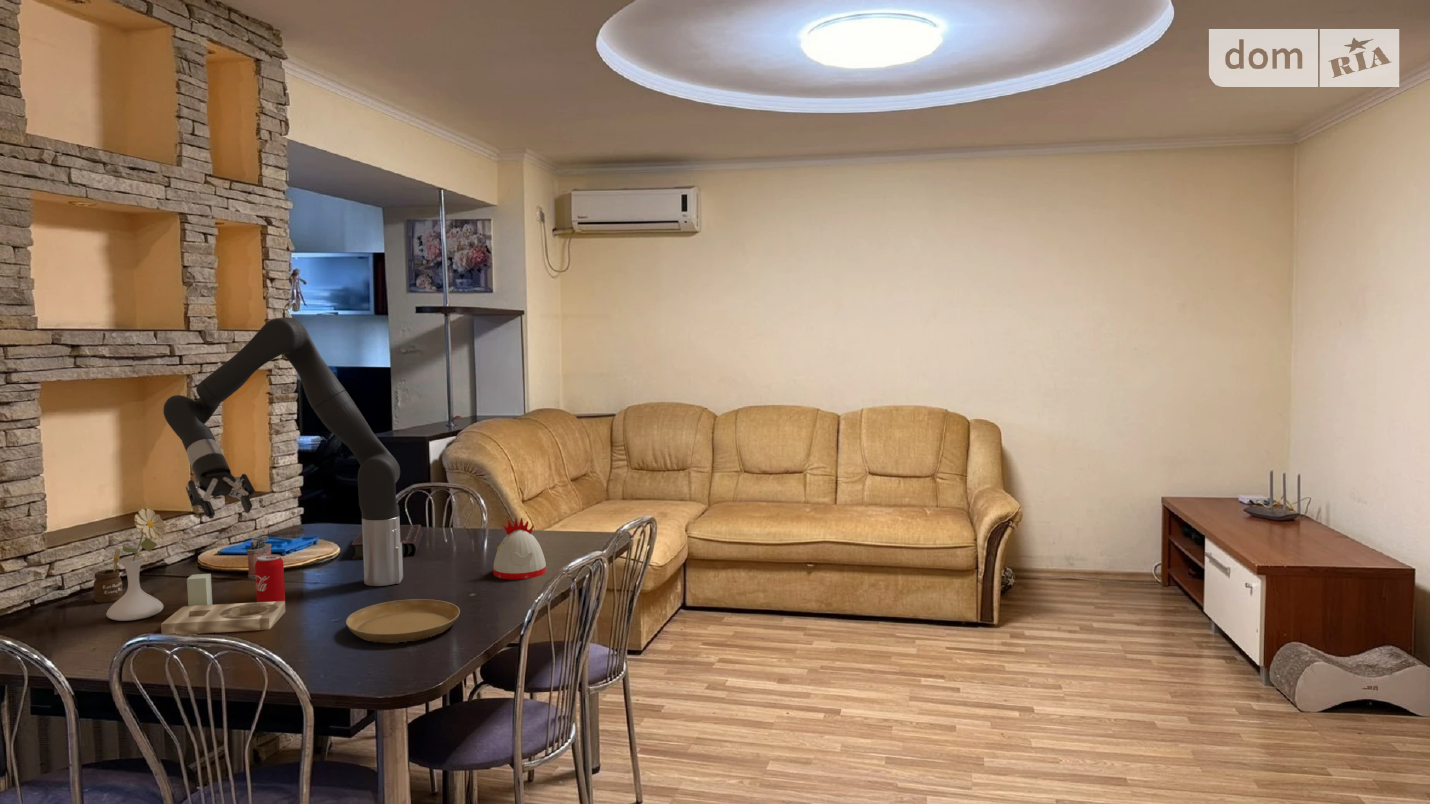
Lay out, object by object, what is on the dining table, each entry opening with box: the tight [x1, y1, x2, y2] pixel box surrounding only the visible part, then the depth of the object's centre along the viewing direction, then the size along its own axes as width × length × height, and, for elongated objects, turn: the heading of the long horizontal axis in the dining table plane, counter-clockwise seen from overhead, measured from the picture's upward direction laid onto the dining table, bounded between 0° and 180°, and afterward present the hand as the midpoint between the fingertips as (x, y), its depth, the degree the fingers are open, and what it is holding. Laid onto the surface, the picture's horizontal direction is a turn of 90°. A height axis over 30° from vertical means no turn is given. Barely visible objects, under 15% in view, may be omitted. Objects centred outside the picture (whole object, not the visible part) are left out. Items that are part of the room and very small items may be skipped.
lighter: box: [246, 535, 272, 579], centre depth 259 cm, size 8×3×10 cm, turn 168°
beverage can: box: [255, 553, 286, 602], centre depth 231 cm, size 6×6×12 cm
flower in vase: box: [105, 508, 166, 622], centre depth 223 cm, size 13×11×25 cm
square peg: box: [186, 573, 213, 606], centre depth 225 cm, size 4×4×9 cm
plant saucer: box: [345, 598, 461, 644], centre depth 214 cm, size 24×24×3 cm
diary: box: [350, 524, 424, 561], centre depth 289 cm, size 19×25×5 cm
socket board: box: [160, 600, 286, 635], centre depth 217 cm, size 22×13×3 cm, turn 100°
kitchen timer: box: [493, 517, 547, 580], centre depth 260 cm, size 14×14×15 cm
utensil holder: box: [92, 548, 123, 604], centre depth 237 cm, size 6×6×12 cm
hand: (230, 513), depth 232 cm, fingers open, 8 cm apart
